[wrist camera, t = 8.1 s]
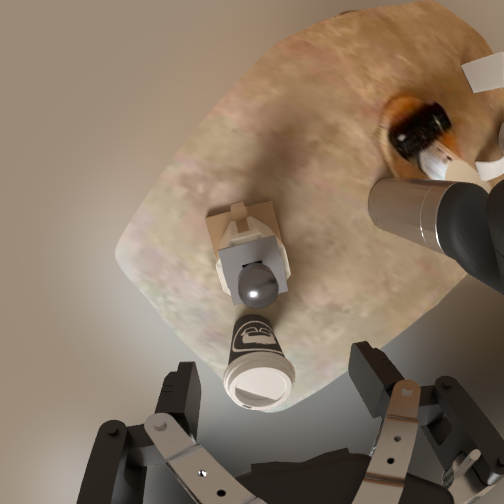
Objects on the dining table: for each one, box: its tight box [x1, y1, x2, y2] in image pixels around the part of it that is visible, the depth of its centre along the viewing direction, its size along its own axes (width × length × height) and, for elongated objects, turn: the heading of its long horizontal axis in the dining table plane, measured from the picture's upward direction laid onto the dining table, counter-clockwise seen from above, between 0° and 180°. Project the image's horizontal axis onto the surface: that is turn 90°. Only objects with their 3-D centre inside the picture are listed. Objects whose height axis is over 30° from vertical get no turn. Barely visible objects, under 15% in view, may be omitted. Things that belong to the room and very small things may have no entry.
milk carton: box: [461, 51, 504, 93], centre depth 26 cm, size 7×7×19 cm
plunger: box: [238, 260, 279, 308], centre depth 29 cm, size 5×5×14 cm
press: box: [205, 200, 291, 305], centre depth 34 cm, size 10×11×15 cm
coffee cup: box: [223, 315, 295, 410], centre depth 38 cm, size 10×10×15 cm
